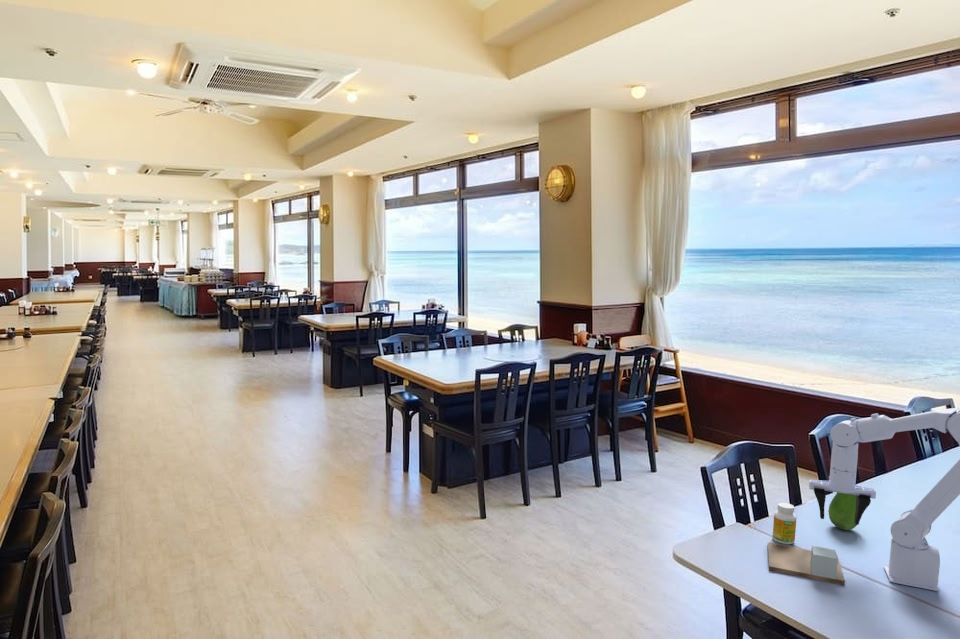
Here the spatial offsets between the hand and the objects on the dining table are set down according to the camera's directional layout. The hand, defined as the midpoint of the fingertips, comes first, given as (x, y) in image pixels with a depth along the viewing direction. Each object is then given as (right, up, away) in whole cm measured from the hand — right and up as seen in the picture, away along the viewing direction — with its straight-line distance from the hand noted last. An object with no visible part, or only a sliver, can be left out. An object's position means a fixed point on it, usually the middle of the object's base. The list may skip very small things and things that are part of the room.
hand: (839, 520), depth 160 cm
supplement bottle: (-10, -9, +9) cm, 16 cm away
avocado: (+11, -8, +18) cm, 23 cm away
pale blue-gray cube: (-10, -9, -10) cm, 17 cm away
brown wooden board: (-11, -10, -4) cm, 15 cm away
